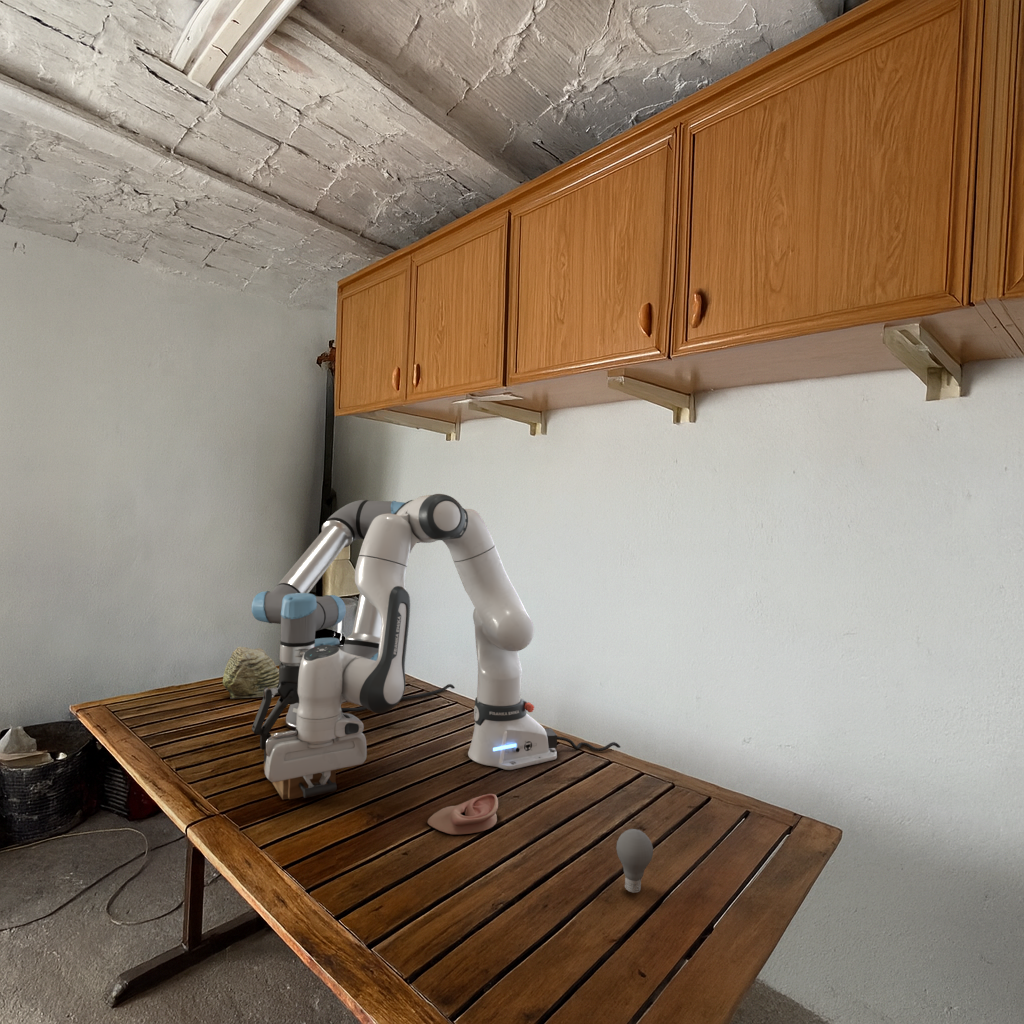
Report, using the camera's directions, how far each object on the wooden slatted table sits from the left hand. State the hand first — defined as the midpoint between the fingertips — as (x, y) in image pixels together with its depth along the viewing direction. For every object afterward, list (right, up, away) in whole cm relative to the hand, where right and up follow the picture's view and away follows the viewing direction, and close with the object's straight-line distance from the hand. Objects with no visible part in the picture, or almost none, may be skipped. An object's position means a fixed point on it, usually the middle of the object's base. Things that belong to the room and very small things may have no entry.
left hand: (293, 757), depth 145 cm
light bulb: (+70, -7, -39) cm, 81 cm away
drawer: (+5, -3, -8) cm, 10 cm away
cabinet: (+2, -4, -3) cm, 5 cm away
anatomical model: (+40, -5, -19) cm, 45 cm away
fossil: (-31, -1, +53) cm, 62 cm away
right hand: (+10, -2, -14) cm, 17 cm away
